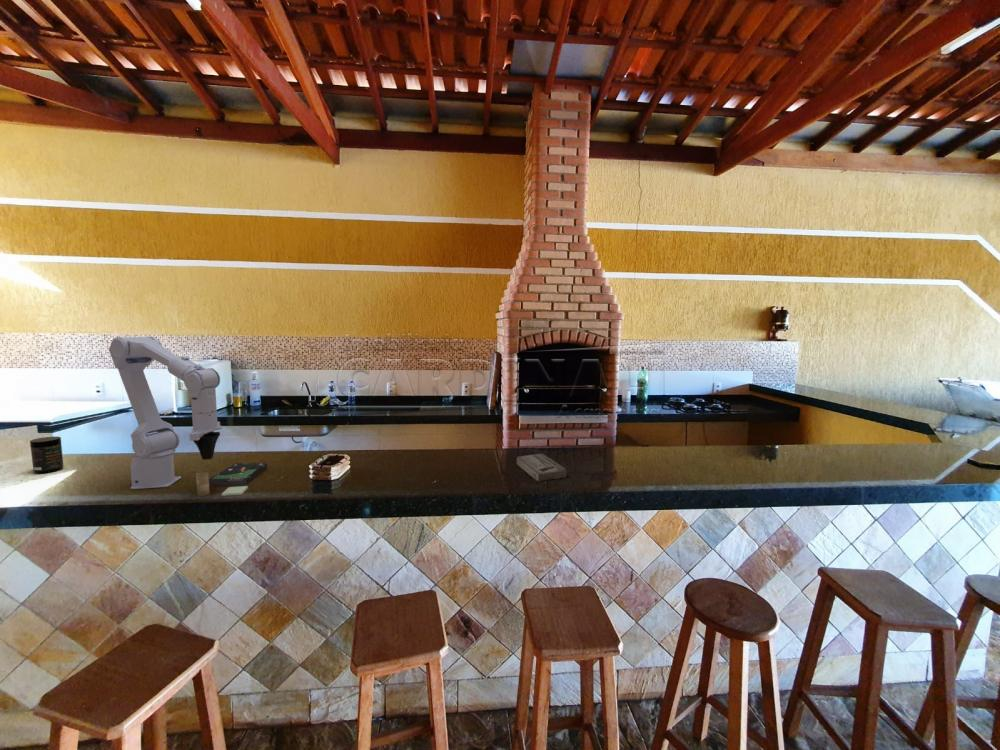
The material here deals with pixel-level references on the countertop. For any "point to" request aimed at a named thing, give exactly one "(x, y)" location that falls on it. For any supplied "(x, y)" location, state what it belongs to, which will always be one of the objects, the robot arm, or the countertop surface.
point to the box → (541, 467)
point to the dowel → (202, 483)
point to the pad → (235, 490)
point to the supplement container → (46, 455)
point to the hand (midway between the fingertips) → (207, 458)
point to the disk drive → (238, 474)
